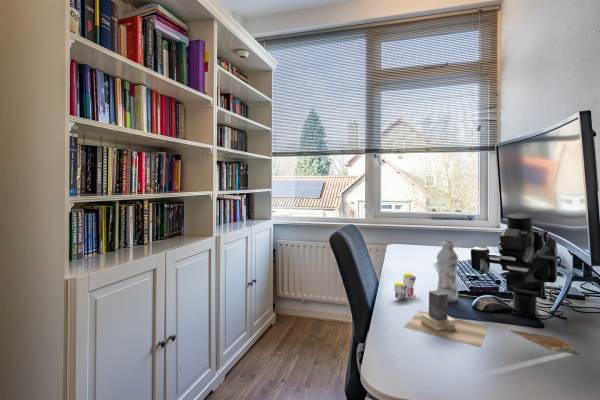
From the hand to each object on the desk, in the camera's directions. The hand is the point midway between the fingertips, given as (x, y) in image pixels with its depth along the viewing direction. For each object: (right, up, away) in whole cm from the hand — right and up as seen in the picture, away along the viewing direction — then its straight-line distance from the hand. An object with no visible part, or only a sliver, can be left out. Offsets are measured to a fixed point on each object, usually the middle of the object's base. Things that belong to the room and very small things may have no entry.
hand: (502, 276), depth 78 cm
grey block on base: (-12, -15, +8) cm, 21 cm away
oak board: (-10, -16, +8) cm, 21 cm away
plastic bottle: (0, -15, +28) cm, 32 cm away
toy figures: (-13, -15, +32) cm, 37 cm away
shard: (+9, -17, -1) cm, 19 cm away
